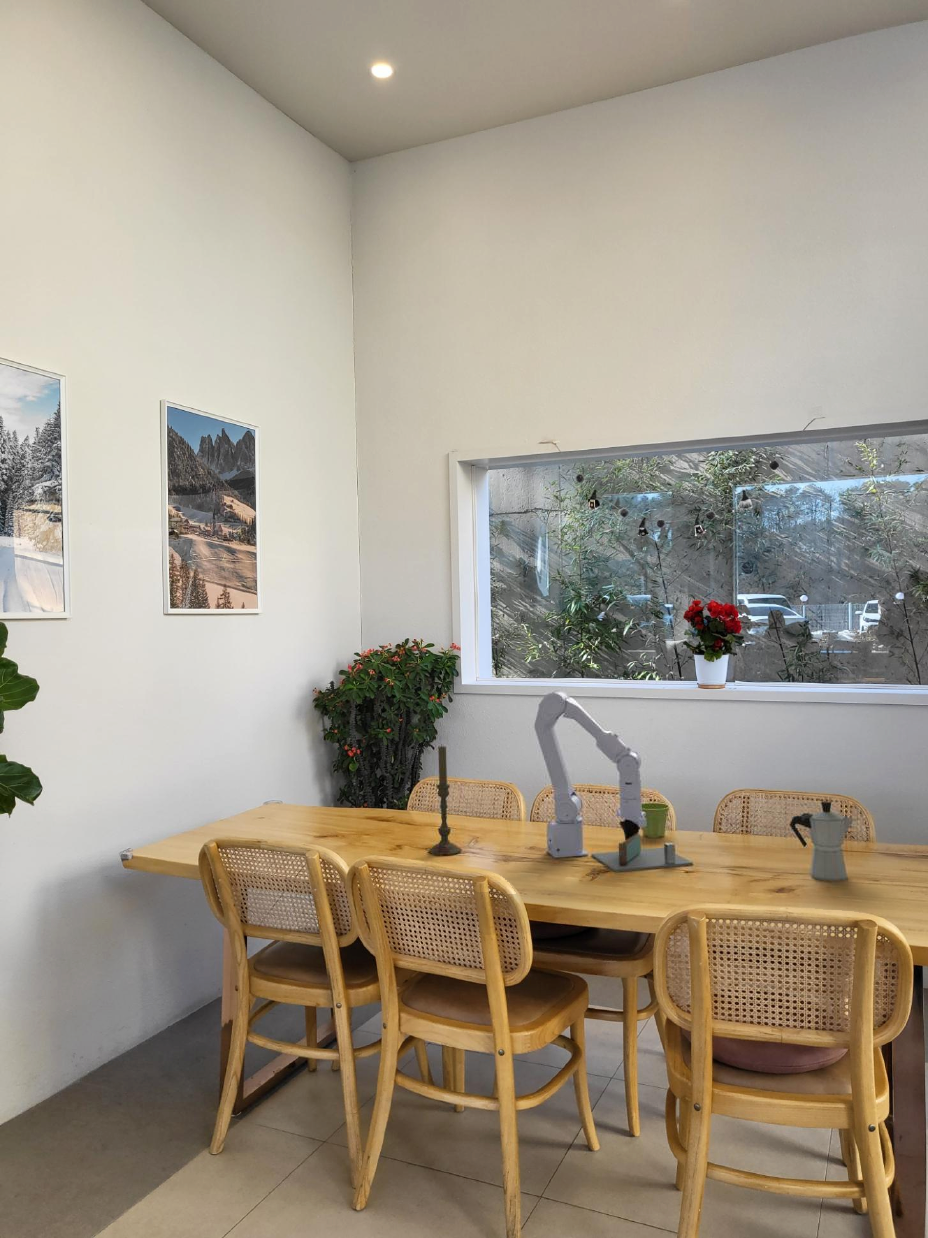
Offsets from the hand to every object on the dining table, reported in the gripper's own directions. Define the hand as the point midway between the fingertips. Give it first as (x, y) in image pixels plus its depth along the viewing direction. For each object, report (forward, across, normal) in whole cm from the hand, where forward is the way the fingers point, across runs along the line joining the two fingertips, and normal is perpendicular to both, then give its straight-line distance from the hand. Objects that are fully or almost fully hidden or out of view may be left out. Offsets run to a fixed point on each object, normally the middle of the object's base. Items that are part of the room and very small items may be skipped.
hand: (632, 847), depth 250 cm
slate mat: (+2, -6, 0) cm, 6 cm away
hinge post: (+2, -10, +7) cm, 13 cm away
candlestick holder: (+2, +22, +46) cm, 51 cm away
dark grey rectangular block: (+2, -13, -4) cm, 14 cm away
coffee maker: (+2, -35, -34) cm, 48 cm away
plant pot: (+3, +19, -16) cm, 25 cm away
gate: (+1, -5, +2) cm, 6 cm away
